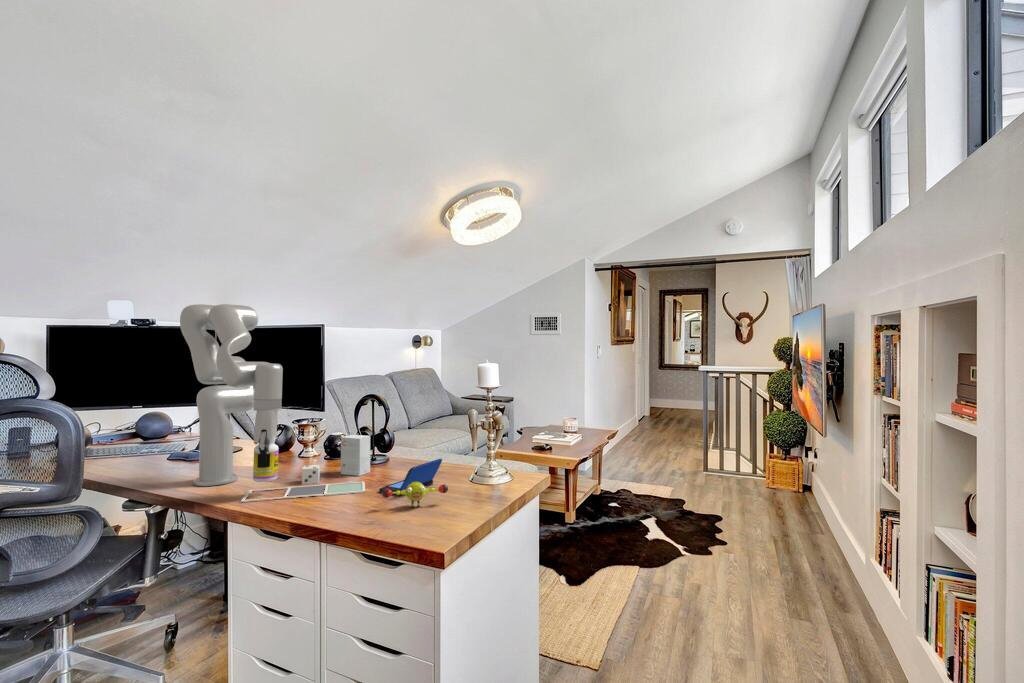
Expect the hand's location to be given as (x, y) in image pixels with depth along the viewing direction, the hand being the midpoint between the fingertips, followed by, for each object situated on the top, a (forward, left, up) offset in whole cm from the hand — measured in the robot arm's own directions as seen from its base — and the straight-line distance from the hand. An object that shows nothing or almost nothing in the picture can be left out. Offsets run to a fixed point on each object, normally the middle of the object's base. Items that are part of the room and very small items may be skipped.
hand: (265, 463), depth 146 cm
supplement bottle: (0, 0, -5) cm, 5 cm away
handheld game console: (+7, +42, -10) cm, 44 cm away
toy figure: (+25, +42, -9) cm, 50 cm away
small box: (-20, +26, -9) cm, 34 cm away
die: (-12, +12, -9) cm, 19 cm away
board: (+1, +12, -9) cm, 15 cm away
